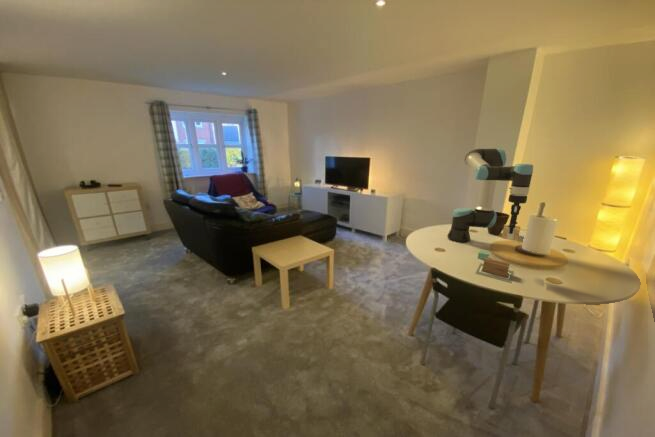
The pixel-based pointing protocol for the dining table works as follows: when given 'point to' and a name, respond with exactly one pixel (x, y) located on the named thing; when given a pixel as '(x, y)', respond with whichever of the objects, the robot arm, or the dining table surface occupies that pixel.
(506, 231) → the oak block
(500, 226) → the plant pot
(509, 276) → the grey flat square plate
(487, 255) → the teal cube
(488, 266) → the walnut foundation
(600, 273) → the dining table surface
